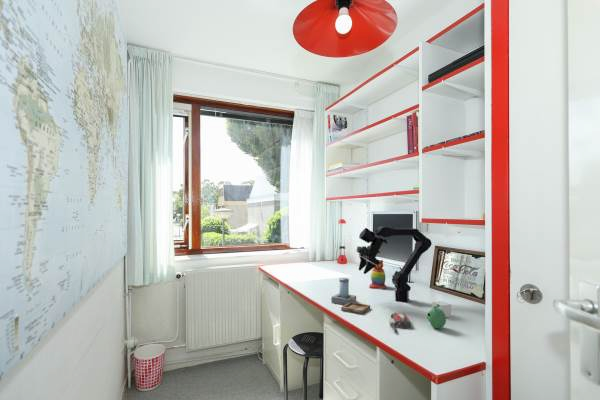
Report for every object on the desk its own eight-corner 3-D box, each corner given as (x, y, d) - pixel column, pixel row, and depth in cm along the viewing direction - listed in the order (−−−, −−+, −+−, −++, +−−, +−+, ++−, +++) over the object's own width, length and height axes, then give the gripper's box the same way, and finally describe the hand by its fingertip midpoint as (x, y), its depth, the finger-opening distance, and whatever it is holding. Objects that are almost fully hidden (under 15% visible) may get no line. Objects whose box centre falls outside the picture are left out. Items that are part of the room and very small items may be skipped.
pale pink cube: (451, 317, 153) (451, 304, 153) (441, 318, 151) (440, 305, 151) (442, 313, 159) (442, 300, 159) (432, 314, 157) (432, 301, 157)
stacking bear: (369, 288, 207) (369, 260, 208) (370, 284, 217) (370, 258, 217) (386, 289, 204) (386, 261, 205) (386, 285, 214) (386, 259, 214)
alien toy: (429, 323, 144) (429, 301, 144) (448, 327, 139) (447, 304, 139) (424, 328, 138) (424, 304, 138) (443, 332, 133) (443, 308, 134)
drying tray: (370, 308, 165) (370, 305, 165) (361, 314, 156) (361, 310, 156) (350, 305, 171) (350, 301, 171) (341, 310, 162) (341, 306, 162)
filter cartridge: (350, 301, 178) (350, 278, 178) (346, 303, 173) (346, 280, 174) (341, 299, 180) (341, 277, 181) (337, 302, 176) (337, 279, 176)
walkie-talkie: (386, 318, 152) (392, 334, 132) (386, 308, 152) (392, 323, 132) (405, 319, 151) (415, 335, 131) (405, 309, 151) (415, 325, 131)
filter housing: (356, 301, 178) (356, 295, 178) (348, 305, 170) (348, 299, 170) (339, 298, 184) (339, 292, 184) (331, 302, 175) (331, 297, 176)
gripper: (357, 238, 187) (345, 262, 186) (368, 242, 169) (353, 268, 168) (374, 247, 188) (361, 271, 187) (385, 252, 170) (371, 278, 169)
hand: (361, 271), depth 178 cm, fingers open, 9 cm apart
